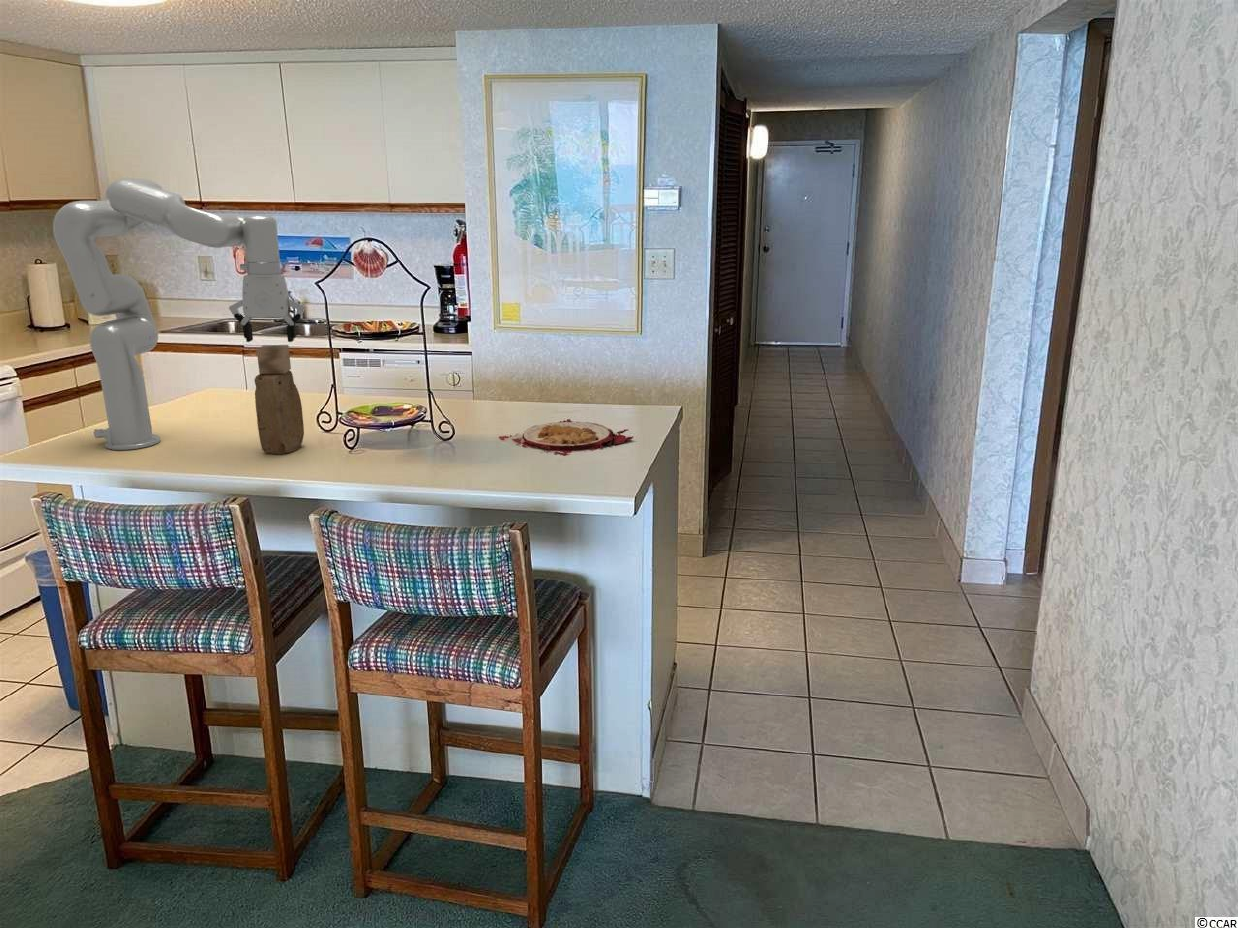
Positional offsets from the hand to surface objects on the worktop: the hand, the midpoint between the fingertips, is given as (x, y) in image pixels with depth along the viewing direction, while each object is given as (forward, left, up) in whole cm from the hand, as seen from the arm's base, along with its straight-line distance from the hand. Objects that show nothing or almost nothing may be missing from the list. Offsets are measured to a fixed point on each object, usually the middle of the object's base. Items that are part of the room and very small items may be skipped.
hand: (270, 341), depth 215 cm
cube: (0, 0, -7) cm, 7 cm away
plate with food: (+71, +1, -28) cm, 77 cm away
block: (0, 0, -28) cm, 28 cm away
